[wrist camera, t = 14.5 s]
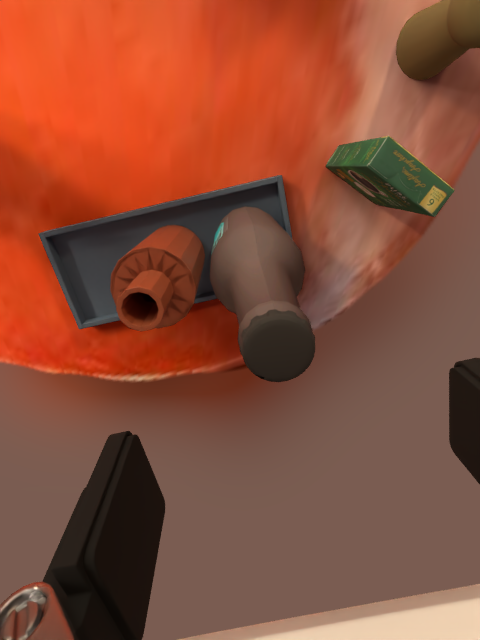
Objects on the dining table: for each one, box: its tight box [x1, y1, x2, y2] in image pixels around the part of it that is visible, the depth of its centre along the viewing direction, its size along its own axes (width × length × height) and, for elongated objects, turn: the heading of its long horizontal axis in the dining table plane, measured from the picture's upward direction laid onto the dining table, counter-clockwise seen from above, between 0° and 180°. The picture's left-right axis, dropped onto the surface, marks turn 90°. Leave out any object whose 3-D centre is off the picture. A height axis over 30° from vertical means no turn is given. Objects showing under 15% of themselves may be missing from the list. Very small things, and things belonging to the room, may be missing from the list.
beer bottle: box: [209, 206, 315, 382], centre depth 30 cm, size 8×8×30 cm
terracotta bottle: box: [110, 225, 205, 331], centre depth 35 cm, size 7×7×19 cm
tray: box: [39, 175, 293, 329], centre depth 44 cm, size 28×12×2 cm, turn 103°
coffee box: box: [326, 136, 454, 217], centre depth 36 cm, size 8×3×13 cm, turn 57°
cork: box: [396, 0, 480, 80], centre depth 32 cm, size 6×6×11 cm
